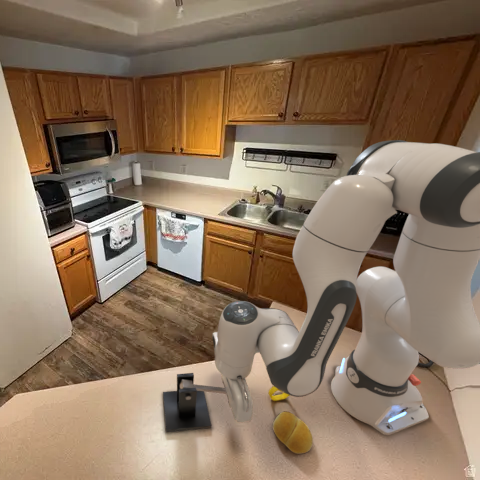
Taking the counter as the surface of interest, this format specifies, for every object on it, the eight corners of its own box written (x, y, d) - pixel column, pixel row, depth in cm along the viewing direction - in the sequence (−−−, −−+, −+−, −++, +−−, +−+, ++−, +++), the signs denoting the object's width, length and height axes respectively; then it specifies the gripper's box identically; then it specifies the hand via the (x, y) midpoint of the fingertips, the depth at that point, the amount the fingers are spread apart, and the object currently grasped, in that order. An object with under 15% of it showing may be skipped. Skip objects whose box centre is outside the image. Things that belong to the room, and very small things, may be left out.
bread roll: (302, 463, 61) (306, 455, 59) (267, 431, 67) (269, 423, 65) (317, 436, 66) (321, 428, 64) (282, 409, 72) (285, 400, 70)
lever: (226, 384, 72) (229, 379, 71) (232, 403, 68) (235, 398, 67) (178, 379, 70) (181, 374, 68) (181, 398, 65) (184, 392, 64)
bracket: (203, 390, 77) (205, 363, 71) (211, 428, 68) (214, 400, 62) (163, 394, 76) (161, 366, 70) (166, 432, 68) (165, 404, 62)
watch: (285, 391, 76) (289, 379, 73) (290, 401, 73) (295, 389, 71) (265, 394, 75) (269, 382, 72) (270, 404, 73) (274, 392, 70)
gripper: (264, 401, 54) (254, 435, 61) (233, 326, 72) (228, 358, 79) (234, 404, 54) (228, 437, 60) (210, 328, 72) (208, 360, 78)
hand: (228, 392), depth 70 cm, fingers closed on lever, 5 cm apart
